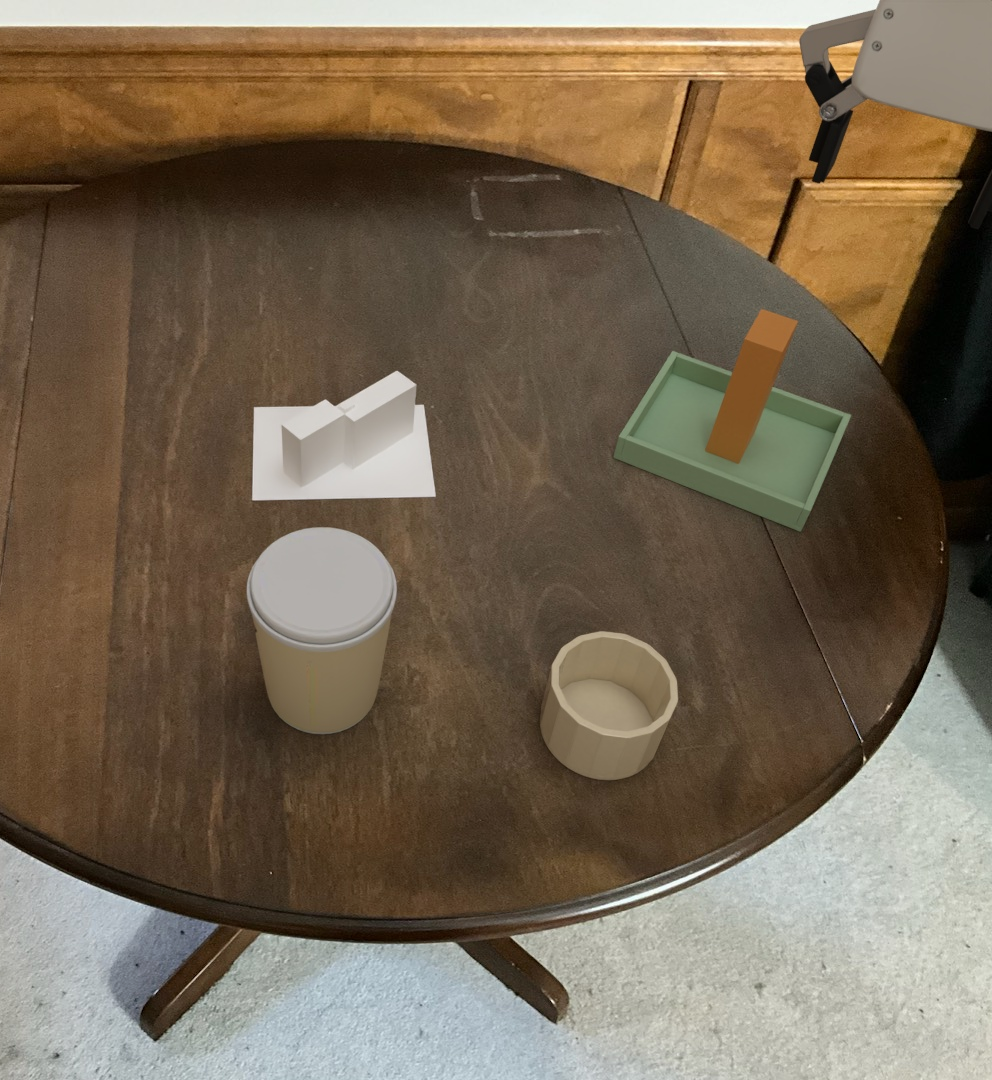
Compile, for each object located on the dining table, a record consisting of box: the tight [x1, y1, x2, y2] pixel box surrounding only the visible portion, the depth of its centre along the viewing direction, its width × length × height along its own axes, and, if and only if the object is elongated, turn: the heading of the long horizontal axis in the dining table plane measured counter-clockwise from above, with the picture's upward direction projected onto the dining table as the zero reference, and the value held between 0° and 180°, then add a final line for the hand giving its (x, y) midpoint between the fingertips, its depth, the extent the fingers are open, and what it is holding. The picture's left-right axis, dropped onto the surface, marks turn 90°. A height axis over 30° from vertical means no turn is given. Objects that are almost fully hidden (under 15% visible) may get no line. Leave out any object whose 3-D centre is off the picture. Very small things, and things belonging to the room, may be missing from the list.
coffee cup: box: [246, 526, 398, 735], centre depth 73 cm, size 9×9×12 cm
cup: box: [539, 630, 679, 781], centre depth 74 cm, size 8×8×6 cm
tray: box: [612, 350, 852, 533], centre depth 95 cm, size 16×13×2 cm
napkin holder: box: [251, 370, 437, 501], centre depth 91 cm, size 15×11×6 cm
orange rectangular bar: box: [705, 308, 799, 464], centre depth 91 cm, size 3×4×12 cm, turn 150°
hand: (897, 195), depth 70 cm, fingers open, 9 cm apart
